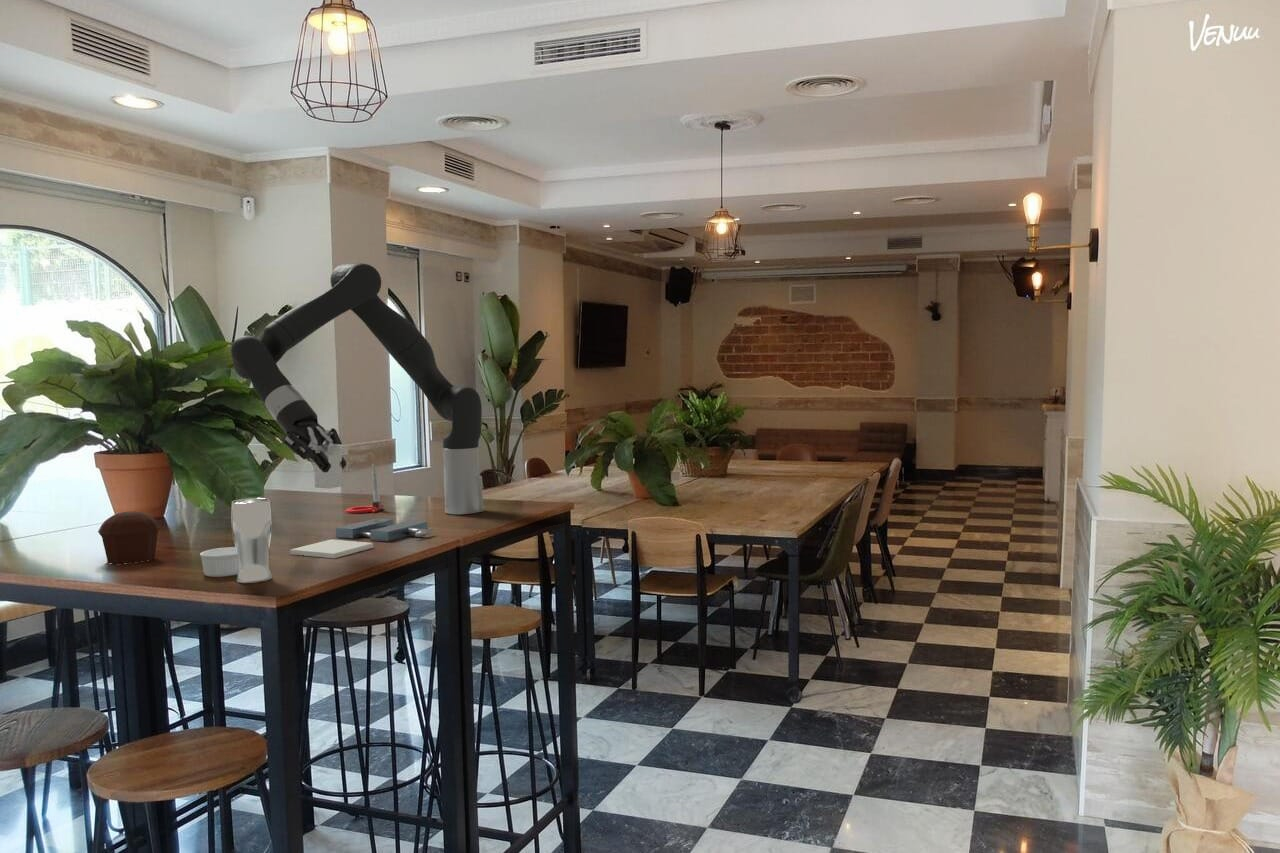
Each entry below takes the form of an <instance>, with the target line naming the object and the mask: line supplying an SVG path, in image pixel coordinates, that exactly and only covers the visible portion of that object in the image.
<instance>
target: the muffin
mask: <svg viewBox="0 0 1280 853" xmlns="http://www.w3.org/2000/svg"><path fill="white" fill-rule="evenodd" d="M161 528H162V526H161V525H160V524H159V522H158V521H157V520H156V519H155V518H154V517H153V516H151V515H149V514H147V513H145V512H142V511H136V510H135V511H122V512H119V513H115V514H113V515H111V516H110V517H108V518H107V519H105V521H103V523H102V524H101V525H100V527H99V528H98V530H97V533H98V534H99V535H100V536H101V540H102V543H103V544H102V545H103V548H104V551H105V556H106V561H107V563H108V564H109V563H114V564H113V565H115V564H123V565H125V564H124V563H135V562H141V561H147V560H150V559H152V560H154V559H153V558H156V551H157V550H156V549H157V543H158V535H159V534H158V532H159V531H160V529H161ZM150 561H151V560H150ZM147 562H148V561H147ZM141 563H142V562H141ZM135 564H136V563H135Z"/></svg>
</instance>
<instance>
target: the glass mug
mask: <svg viewBox="0 0 1280 853" xmlns="http://www.w3.org/2000/svg"><path fill="white" fill-rule="evenodd" d="M317 447H318V448H319V450H320V453H322V454H323V456H324V457H325V458H326V459H327V461H328V462H329V463H330V464H331V468H330V469H329V470H328V472H325V473H324V472H323V471H322V470H321V469H320V468H319V467H318V466H317V465H316V463H315V462H314V461H313V466H314V467H313V468H314V471H313V472H314V487H315V489H317V488H318V489H334V488H341V487H344V479H343V477H344V476H343V470H342V457H343V456H346V455H348V454H349V445H348V444H342V445H341V444H325V443H323V444H322V445H317ZM320 453H319V454H320Z"/></svg>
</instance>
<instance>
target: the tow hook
mask: <svg viewBox="0 0 1280 853" xmlns="http://www.w3.org/2000/svg"><path fill="white" fill-rule="evenodd" d="M371 479H372V489H373V492H372V500H373V501H372V505H361V506H353V507H348V508H346V509H345V513H346V514H360V513H361V514H362V513H370V512H371V513H372V514H373V513H376V512H380V511H381V510H383V509H384V505H383V504H382V503H381V500H380V499H381V498H380V492H379V489H378V488H379V487H378V478H377V471H376V463H371Z"/></svg>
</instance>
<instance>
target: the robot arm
mask: <svg viewBox="0 0 1280 853" xmlns="http://www.w3.org/2000/svg"><path fill="white" fill-rule="evenodd" d="M330 286H331V288H330V289H328V290H326V291H325V292H324V293H321V294H320V295H317V297H315V298H313V299H310V300H308V301H306V302H303V303H302V304H300V305H297V306H295V307H294V308H291V309H290V310H288V311H287V312H285V313H284V314H282V315H280V316H279V317H277V319H275V320H273V321H272V322H270V323H269V324H268V325H266V327H265V328H264V330H263V334H262V337H261V339H259V338H257V337H256V336H252V335H241V336H239V337H237V338H236V339H235V340H234V341H233V342H232V344H231V347H230V355H231V358H232V362H233V363H232V364H233V368H234V370H235V372H236V374H237V375H238V376H239V377H240V378H242V379H244V380H250V381H251V384H252V388H253V390H254V392H255V393H256V395H257V396H258V397H259V399H260V400H261V401H262V403H263V404H264V405H265V407H266V409H267V411H268V412H269V414H270V415H271V417H272V418H273V419H274V420H275V421H276V424H278V426H280V428H281V430H283V433H284V434H285V435H286V437H285V439H284V440H283V443H284V445H286V446H287V447H288V448H290V449H291V451H293V452H295V454H296V455H298V456H299V457H301V459H303V460H307V459H309V460H310V461H312V462H313V463H314V462H315V463H316V465H317V466H318V467H319V468H320V469H321V470H322V471H323V472H324V473H325V472H328V470H329V469H330V468H331V464H330V463H329V462H328V461H327V459H326V458H325V457H324V456H323V454H322V453H320V450H319V448H318V447H317V445H322V444H341V445H343V443H342V440H341V438H340V436H339V434H338V431H337V430H336V429H335V428H333V427H332V428H330V430H328V429H325V428H324V427H323V426H322V425H321V424H319V421H318V414H317V413H316V412H315V411H314V409H313V408H312V407H311V406H310V404H309V403H308V402H307V400H306V399H305V398H304V396H303V395H302V394H301V392H299V391H298V390H297V389H296V388H295V387H294V386H293V384H292V383H291V382H290V381H289V379H288V378H287V377H286V375H284V373H282V371H281V370H280V368H279V367H278V364H277V363H278V362H279V361H280V360H281V359H282V358H283V356H284V355H285V354H286V353H287V352H288V351H290V349H292V348H294V347H295V346H296V345H298V344H299V343H301V342H303V340H304V339H306V338H308V337H309V336H310V335H312V334H313V333H314V332H316V331H317V330H319V329H320V328H322V327H323V326H325V325H327V324H328V323H329V322H331V321H333V320H334V319H336V318H337V317H339V316H341V315H343V314H345V313H346V312H348V311H352V312H353V314H355V315H356V316H357V317H358V318H359V320H361V321H362V322H363V324H365V326H366V327H367V328H368V329H369V331H370V332H371V334H373V335H374V337H375V338H376V339H377V340H378V341H379V342H380V344H381V345H382V346H383V348H385V350H386V351H387V352H388V353H389V355H390V356H391V357H392V358H393V359H394V360H395V362H397V364H398V365H399V366H400V367H401V368H402V370H404V372H406V374H407V375H408V376H409V377H410V379H411V380H412V381H413V382H414V383H415V384H416V385H417V386H418V388H419V389H420V390H421V391H422V393H423V394H424V395H425V397H426V398H427V400H428V401H429V403H430V404H431V406H432V407H433V409H434V410H435V412H436V413H437V414H438V415H439V417H440V418H442V419H444V420H445V421H449V422H451V431H450V432H449V433H448V434H447V435H446V436H444V437H443V439H442V455H443V460H442V461H443V484H444V511H445V514H447V515H470V514H477V513H480V512H484V501H483V500H484V497H483V494H484V493H483V476H482V475H480V456H479V454H480V452H479V441H480V438H481V435H482V415H483V414H482V413H483V412H482V410H483V409H482V408H483V407H482V400H481V396H480V395H479V393H478V392H477V390H476V389H475V388H473V387H470V386H454V384H452V383H451V382H450V381H449V380H448V379H447V378H446V377H445V376H444V374H442V372H441V371H440V370H439V367H438V365H437V363H436V358H435V354H434V351H433V349H432V346H431V344H430V342H428V340H427V338H426V337H424V335H423V334H422V333H421V332H420V331H419V329H418V328H417V327H416V326H415V325H414V324H413V323H412V322H410V321H409V320H408V319H407V318H405V317H404V316H403V315H402V314H400V313H398V312H397V311H395V310H394V309H392V308H391V307H390V306H388V305H387V304H386V303H385V302H384V301H383V300H382V299H381V298H380V297H379V295H378V294H379V293H380V290H381V288H382V277H381V275H380V273H379V272H378V270H377V268H375V267H374V266H372V265H371V264H368V263H362V262H357V263H356V262H355V263H344V264H340V265H338V266H336V267H335V268H334V269H333V270H332V272H331V274H330ZM301 449H302V450H303V451H302V450H301ZM319 453H320V454H319ZM347 464H348V463H347V461H346V460H345V458H344V457H343V456H342V471H343V470H344V468H345V467H346V466H347Z"/></svg>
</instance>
